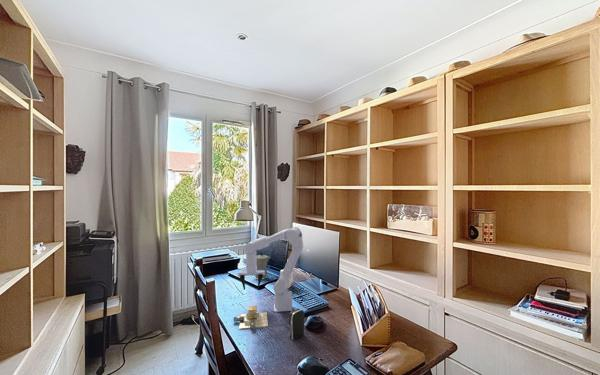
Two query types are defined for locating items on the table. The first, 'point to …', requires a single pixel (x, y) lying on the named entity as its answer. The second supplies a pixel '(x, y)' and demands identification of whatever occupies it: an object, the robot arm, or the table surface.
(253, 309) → the coupling block
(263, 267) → the coffeepot
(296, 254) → the robot arm
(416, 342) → the table surface
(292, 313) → the battery charger
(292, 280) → the ink cartridge box
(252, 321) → the cream square socket base
